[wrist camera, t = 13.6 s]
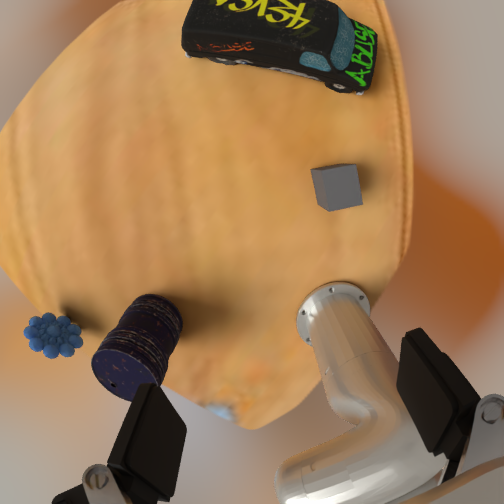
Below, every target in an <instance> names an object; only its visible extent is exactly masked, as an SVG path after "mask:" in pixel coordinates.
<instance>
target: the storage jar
mask: <svg viewBox="0 0 504 504" xmlns="http://www.w3.org/2000/svg"><path fill="white" fill-rule="evenodd" d="M182 327H183V321H182V317H181V314H180V312H179V311H178V309H177V308H176V307H175V305H174V304H173V303H171V302H170V301H169V300H167V299H166V298H164V297H162V296H159V295H154V294H145V295H142V296H140V297H138V298H136V299H135V300H134V302H133V303H132V304H131V305H130V306H129V307H128V308H127V309H126V311H125V312H124V314H123V316H122V317H121V319H120V321H119V324H118V325H117V326H116V328H114V329H113V330H112V331H111V332H109V333H108V335H107V336H106V338H105V339H104V340H103V342H102V343H101V344H100V347H99V348H98V350H97V351H96V352H95V354H94V355H93V357H92V360H91V366H92V370H93V373H94V375H95V376H96V378H97V379H98V381H99V382H100V383H101V384H102V385H103V386H104V387H105V388H106V389H107V390H108V391H110V392H111V393H112V394H114V395H116V396H118V397H119V398H122V399H124V400H127V401H130V402H132V400H133V398H134V396H135V394H136V391H137V389H138V387H139V385H140V384H141V383H155V384H156V385H157V386H161V384H162V382H163V380H164V377H165V373H166V371H167V369H168V360H169V357H170V355H171V354H172V353H173V351H174V349H175V347H176V345H177V343H178V340H179V336H180V333H181V331H182Z"/></svg>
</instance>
